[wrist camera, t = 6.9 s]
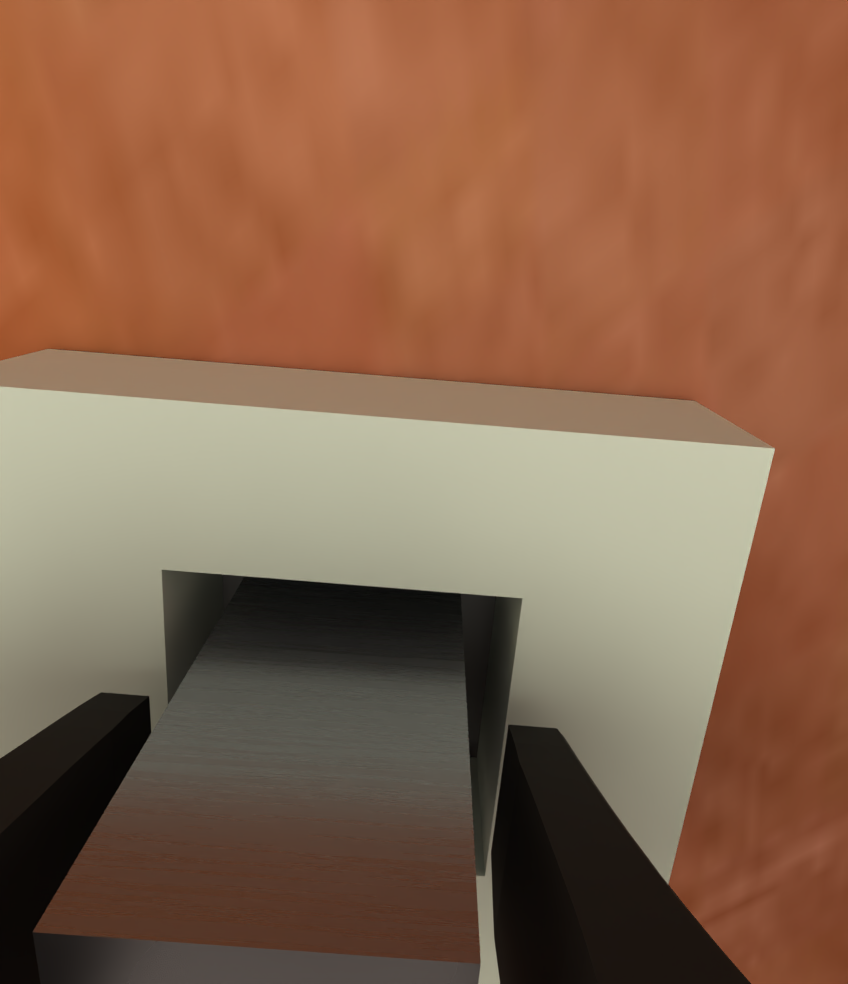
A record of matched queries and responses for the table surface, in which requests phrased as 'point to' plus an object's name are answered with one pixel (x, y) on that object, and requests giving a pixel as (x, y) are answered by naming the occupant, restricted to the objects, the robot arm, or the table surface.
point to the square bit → (290, 807)
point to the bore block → (384, 548)
